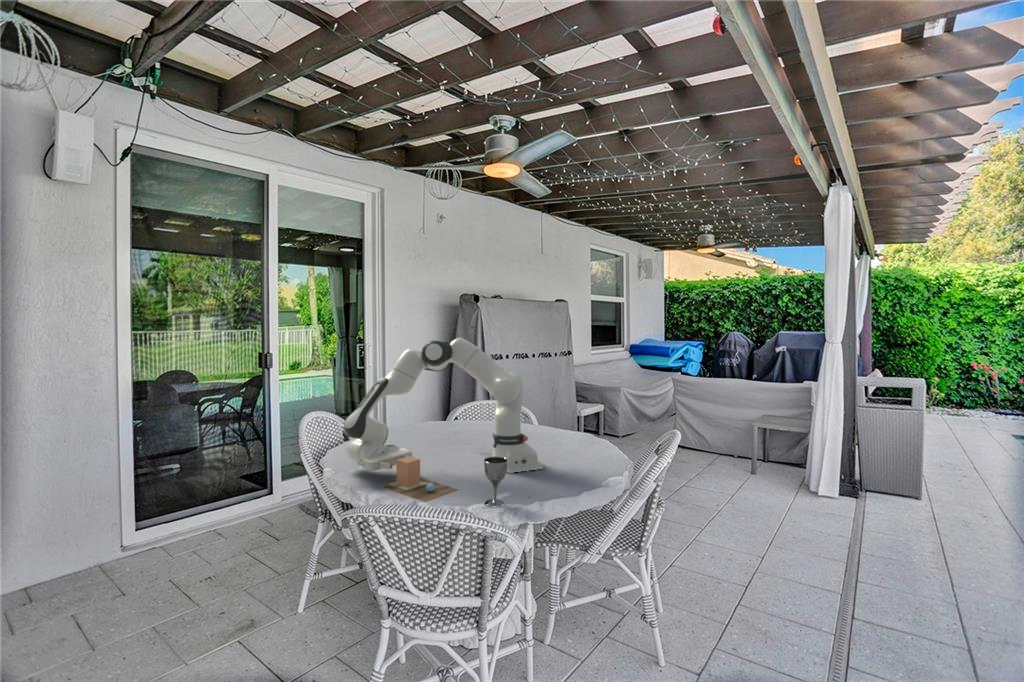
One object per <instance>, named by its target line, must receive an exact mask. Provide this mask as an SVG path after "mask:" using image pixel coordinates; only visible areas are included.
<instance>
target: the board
mask: <svg viewBox="0 0 1024 682" xmlns="http://www.w3.org/2000/svg"><path fill="white" fill-rule="evenodd" d="M429 483H433V484H434V485H435V489H434V491H432V492H429V491H427V489H426V487H427V485H428V484H429ZM380 487H381V488H384V489H387V490H389V491H393V492H395V493H398V494H401V495H403V496H407V497H409V498H412V499H415V500H418V501H420V502H423V503H426V502H429V501H432V500H436V499H437V498H438V499H439V498H440V497H443V496H445V495H448V494H452V493H454V492H456V491H459V489H458V488H454V487H452V486H448V485H445V484H442V483H439V482H435V481H432V480H429V479H426V478H423V477H420V483H419V484H416V485H413V486H410V487H404V486H401V485H398V484H396V480H395V481H391V482H390V483H385V484H382V485H380Z"/></svg>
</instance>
